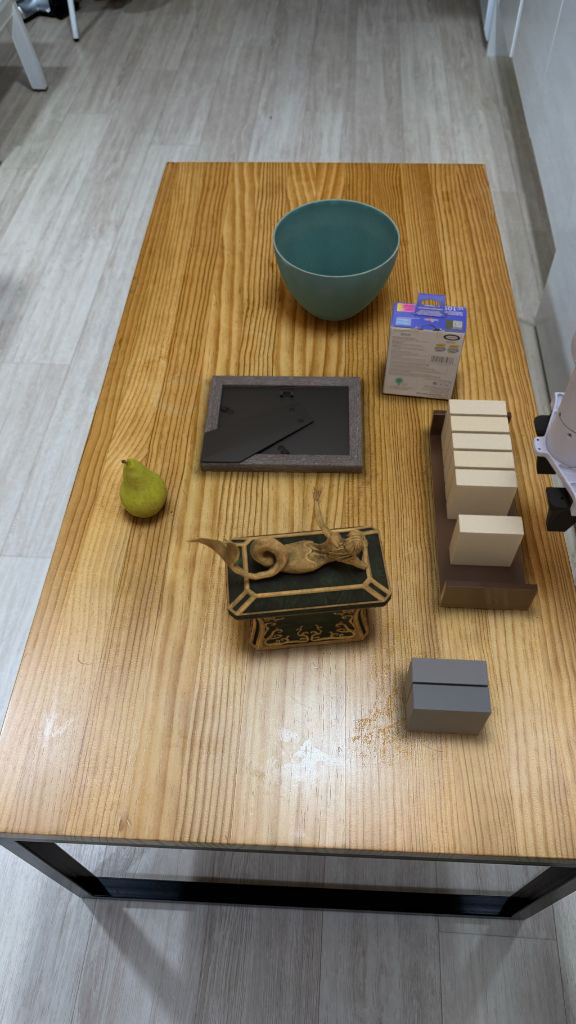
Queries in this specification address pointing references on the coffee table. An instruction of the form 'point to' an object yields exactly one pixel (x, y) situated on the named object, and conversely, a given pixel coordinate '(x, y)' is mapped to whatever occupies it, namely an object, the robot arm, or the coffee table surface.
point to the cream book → (485, 540)
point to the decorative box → (304, 583)
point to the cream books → (477, 458)
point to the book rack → (471, 581)
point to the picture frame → (283, 424)
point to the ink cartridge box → (424, 348)
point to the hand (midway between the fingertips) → (550, 499)
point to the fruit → (141, 489)
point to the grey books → (447, 696)
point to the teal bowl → (335, 255)
